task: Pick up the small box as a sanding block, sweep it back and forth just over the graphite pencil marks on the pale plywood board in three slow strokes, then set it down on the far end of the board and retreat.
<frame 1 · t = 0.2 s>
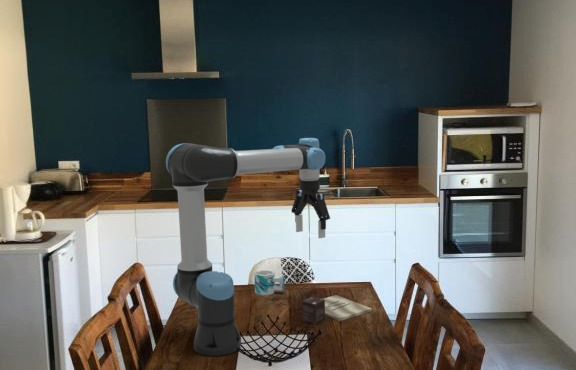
hand: (310, 234, 228), 27 cm above the table, fingers open, 13 cm apart
box: (313, 320, 215), on the table
board: (337, 308, 226), on the table
mug: (269, 292, 246), on the table
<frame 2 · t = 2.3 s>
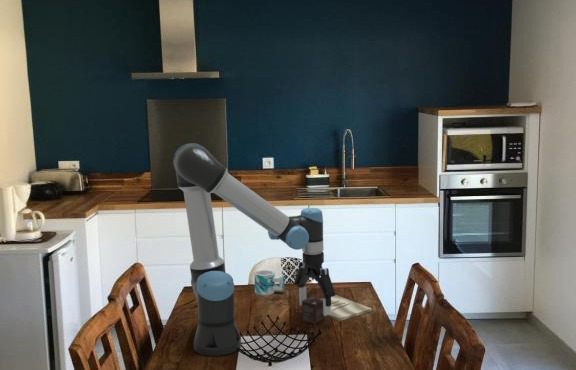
hand: (314, 309, 215), 4 cm above the table, fingers open, 13 cm apart
nothing on the table moved.
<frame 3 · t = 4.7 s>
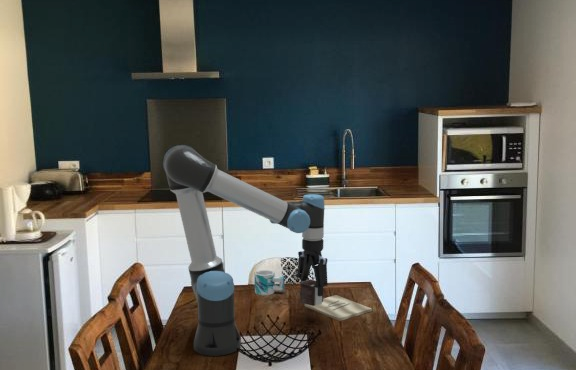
hand: (311, 301, 214), 7 cm above the table, fingers closed on box, 7 cm apart
box: (311, 303, 214), point 6 cm above the table, touching gripper
everything else where it was.
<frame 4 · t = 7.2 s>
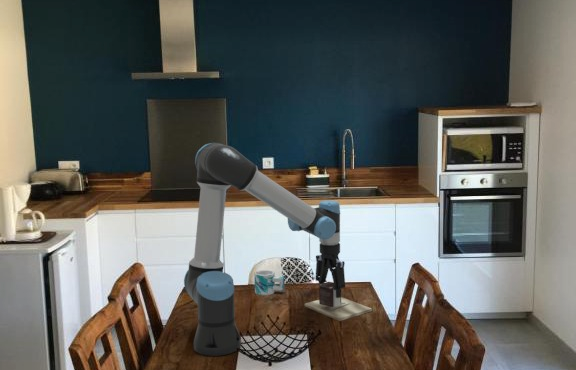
hand: (330, 302, 223), 3 cm above the table, fingers closed on box, 7 cm apart
box: (330, 304, 223), point 3 cm above the table, touching gripper
everything else where it was.
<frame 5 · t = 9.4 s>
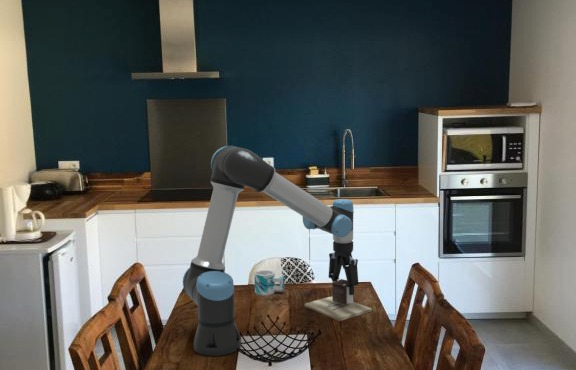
hand: (343, 299, 227), 3 cm above the table, fingers closed on box, 7 cm apart
box: (343, 301, 227), point 2 cm above the table, touching gripper
everything else where it was.
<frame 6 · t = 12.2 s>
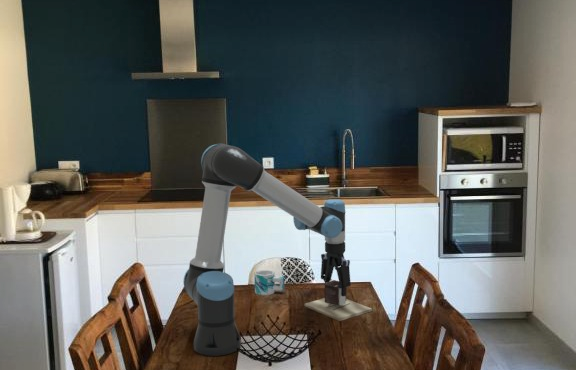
hand: (335, 301, 225), 3 cm above the table, fingers closed on box, 7 cm apart
box: (335, 302, 225), point 3 cm above the table, touching gripper
everything else where it was.
when the fingers open (2 cm above the table, at t = 14.4 s): box stays where it is, resting on board.
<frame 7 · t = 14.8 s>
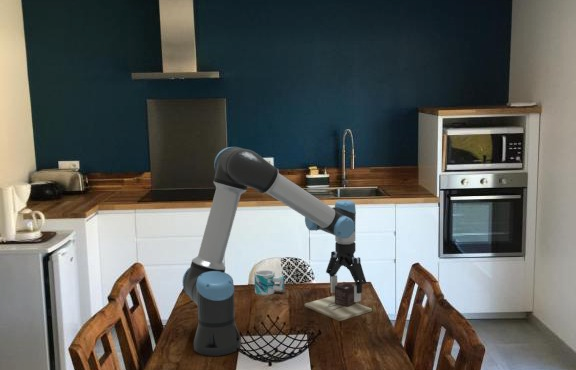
hand: (345, 296, 228), 4 cm above the table, fingers open, 13 cm apart
box: (345, 304, 228), point 1 cm above the table, touching board
everything else where it was.
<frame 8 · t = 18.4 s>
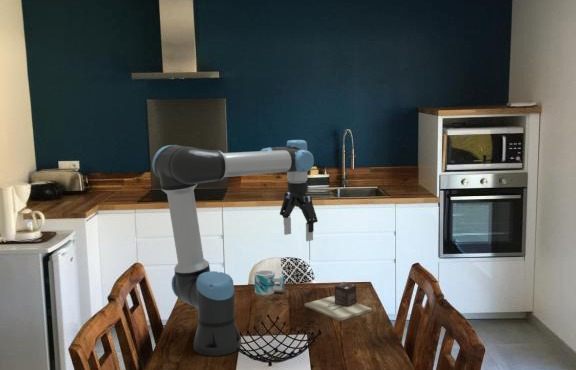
hand: (298, 237, 226), 27 cm above the table, fingers open, 13 cm apart
nothing on the table moved.
at the end: box inside the target area on the board (0.0 cm from its centre), point 0.8 cm above the board's base; box tilted 0°; box moved 18.3 cm from its start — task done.
